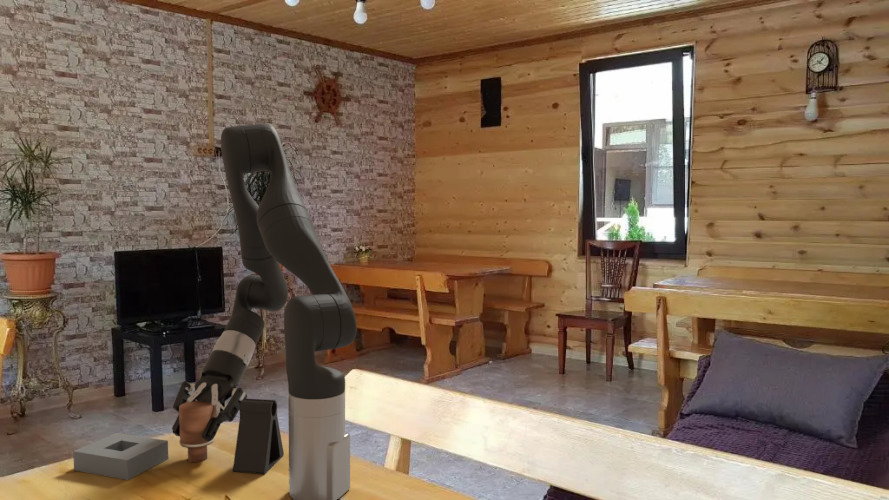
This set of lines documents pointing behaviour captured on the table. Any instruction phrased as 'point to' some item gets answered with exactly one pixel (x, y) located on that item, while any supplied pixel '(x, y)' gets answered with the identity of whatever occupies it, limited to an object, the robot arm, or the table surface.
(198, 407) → the peg
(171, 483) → the table surface
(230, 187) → the robot arm
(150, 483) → the table surface
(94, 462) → the board
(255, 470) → the phone stand
